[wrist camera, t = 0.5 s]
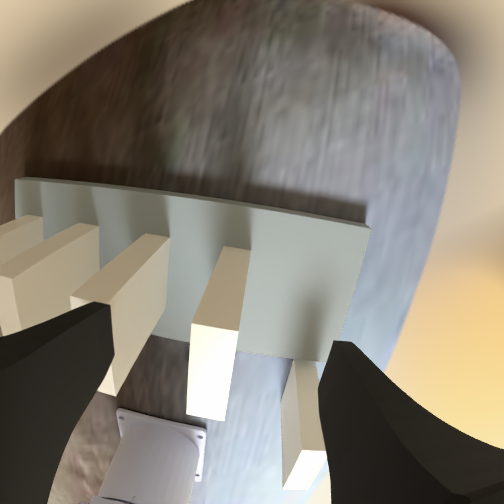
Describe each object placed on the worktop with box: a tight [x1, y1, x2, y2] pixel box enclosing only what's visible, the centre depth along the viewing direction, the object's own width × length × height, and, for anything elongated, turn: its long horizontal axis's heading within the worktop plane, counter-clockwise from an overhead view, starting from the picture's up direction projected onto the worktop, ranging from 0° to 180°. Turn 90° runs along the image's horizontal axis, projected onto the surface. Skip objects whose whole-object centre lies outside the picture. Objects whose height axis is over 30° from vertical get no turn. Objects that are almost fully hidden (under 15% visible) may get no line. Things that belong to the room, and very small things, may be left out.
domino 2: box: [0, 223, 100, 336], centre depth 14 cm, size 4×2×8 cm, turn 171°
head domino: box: [281, 359, 327, 490], centre depth 18 cm, size 4×2×8 cm, turn 171°
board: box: [15, 177, 371, 362], centre depth 19 cm, size 9×22×1 cm, turn 81°
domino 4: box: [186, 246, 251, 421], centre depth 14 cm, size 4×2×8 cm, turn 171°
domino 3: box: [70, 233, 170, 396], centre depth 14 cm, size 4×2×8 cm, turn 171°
